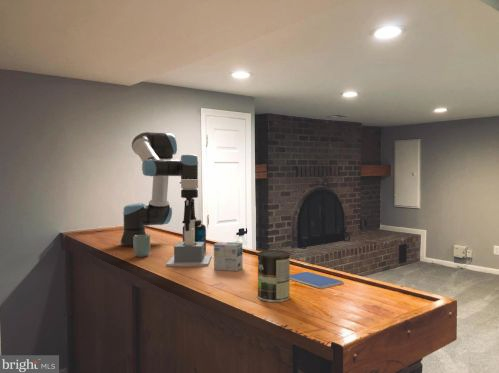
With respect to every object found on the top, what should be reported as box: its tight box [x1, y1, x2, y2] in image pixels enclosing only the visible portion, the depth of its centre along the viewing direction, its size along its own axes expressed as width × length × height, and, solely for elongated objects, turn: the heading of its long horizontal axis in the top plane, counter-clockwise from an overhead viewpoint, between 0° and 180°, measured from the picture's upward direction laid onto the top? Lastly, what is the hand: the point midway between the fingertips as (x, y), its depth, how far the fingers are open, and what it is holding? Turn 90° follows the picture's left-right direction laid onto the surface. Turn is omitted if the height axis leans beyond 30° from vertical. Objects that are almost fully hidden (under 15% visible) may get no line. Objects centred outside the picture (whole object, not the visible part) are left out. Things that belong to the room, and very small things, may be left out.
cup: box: [133, 234, 151, 258], centre depth 187 cm, size 8×8×10 cm
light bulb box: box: [213, 241, 244, 272], centre depth 161 cm, size 11×7×11 cm, turn 71°
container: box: [182, 219, 207, 253], centre depth 199 cm, size 12×12×16 cm
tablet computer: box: [290, 271, 344, 290], centre depth 143 cm, size 19×13×1 cm, turn 36°
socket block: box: [165, 241, 212, 267], centre depth 175 cm, size 18×18×8 cm
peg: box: [185, 228, 195, 245], centre depth 175 cm, size 4×4×14 cm
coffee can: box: [257, 249, 291, 303], centre depth 122 cm, size 10×10×14 cm
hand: (189, 236), depth 175 cm, fingers open, 13 cm apart
